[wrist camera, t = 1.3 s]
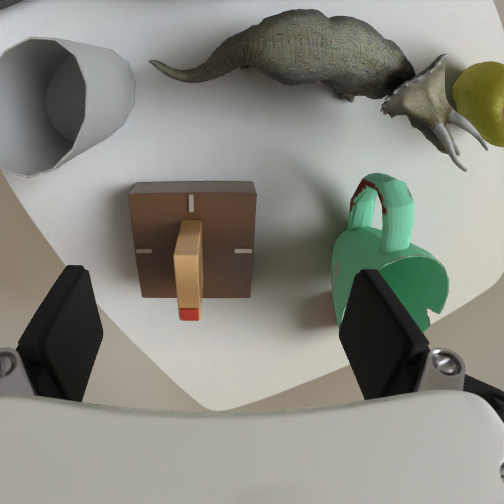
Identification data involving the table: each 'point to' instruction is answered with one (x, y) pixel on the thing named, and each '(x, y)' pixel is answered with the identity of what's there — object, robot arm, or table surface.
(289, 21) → the toy dinosaur
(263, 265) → the table surface
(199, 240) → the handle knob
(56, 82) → the cup
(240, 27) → the table surface
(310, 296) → the table surface
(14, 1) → the button box
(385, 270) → the mug
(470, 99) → the apple
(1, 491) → the robot arm
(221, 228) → the walnut panel
